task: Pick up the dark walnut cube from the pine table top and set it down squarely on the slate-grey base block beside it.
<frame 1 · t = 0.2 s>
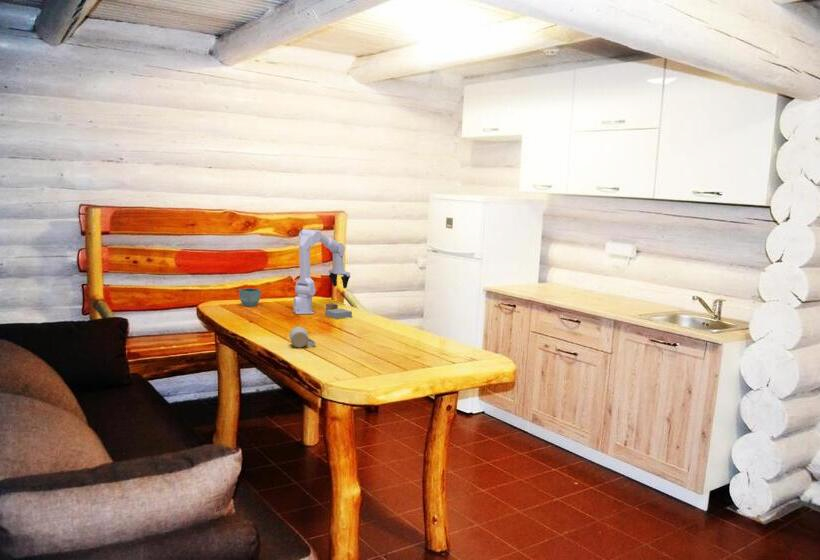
hand: (340, 287, 387), 11 cm above the table, tool pointing down, fingers open, 7 cm apart
base block: (338, 316, 356), on the table
ceramic mug: (302, 346, 289), on the table
flower pot: (250, 306, 376), on the table
walnut cube: (331, 312, 367), on the table
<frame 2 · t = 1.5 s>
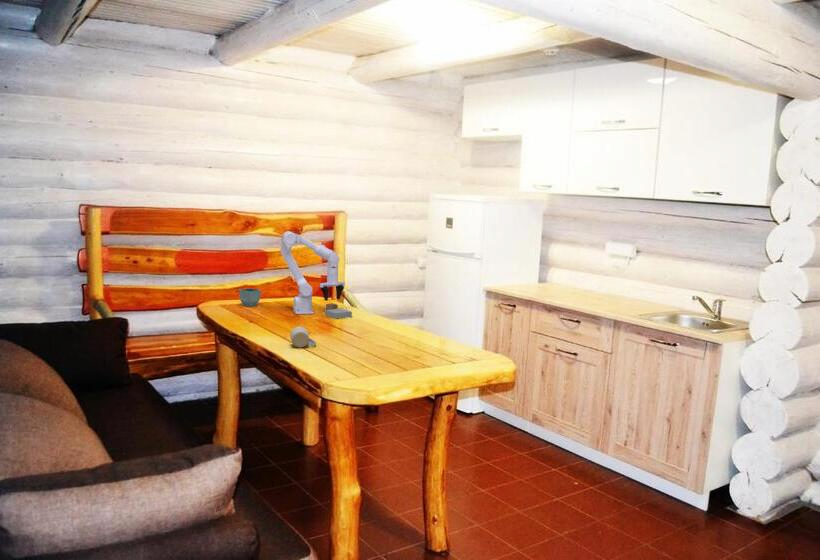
hand: (332, 299, 366), 7 cm above the table, tool pointing down, fingers open, 7 cm apart
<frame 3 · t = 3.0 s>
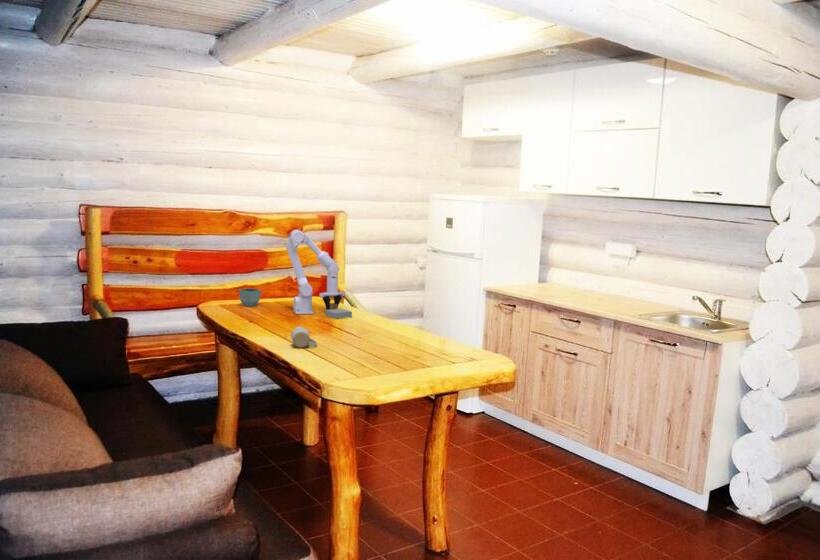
hand: (331, 309, 366), 1 cm above the table, tool pointing down, fingers closed on walnut cube, 4 cm apart
walnut cube: (331, 312, 367), on the table, touching gripper
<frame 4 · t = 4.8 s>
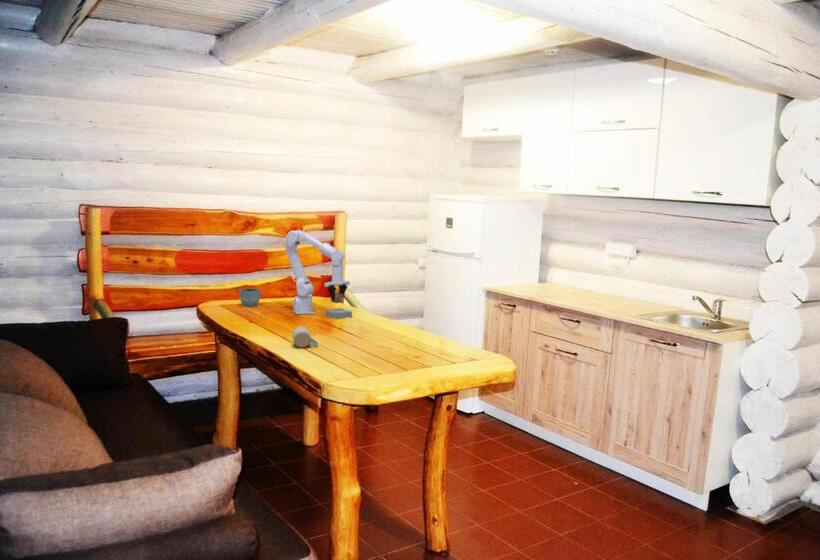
hand: (337, 299, 358), 8 cm above the table, tool pointing down, fingers closed on walnut cube, 4 cm apart
walnut cube: (336, 302, 358), point 7 cm above the table, touching gripper
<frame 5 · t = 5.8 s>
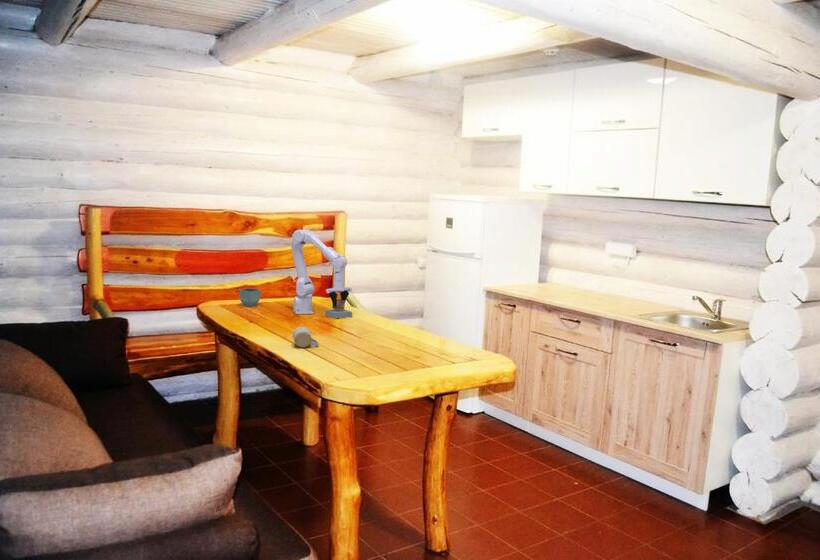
hand: (338, 305, 355), 6 cm above the table, tool pointing down, fingers closed on walnut cube, 4 cm apart
walnut cube: (338, 308, 355), point 4 cm above the table, touching gripper
when the fingers open (6 cm above the table, at t = 6.5 s): walnut cube drops 1 cm, resting on base block.
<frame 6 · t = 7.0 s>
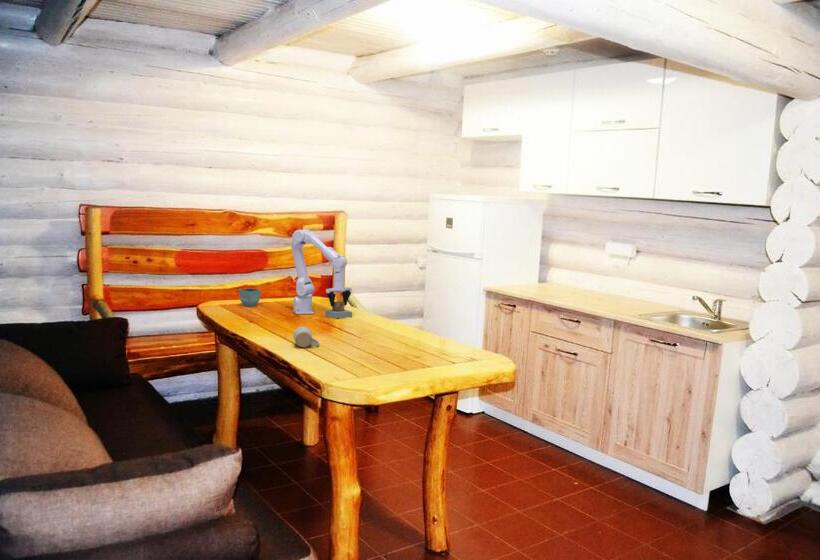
hand: (338, 305, 355), 6 cm above the table, tool pointing down, fingers open, 7 cm apart
walnut cube: (338, 310, 355), point 3 cm above the table, touching base block
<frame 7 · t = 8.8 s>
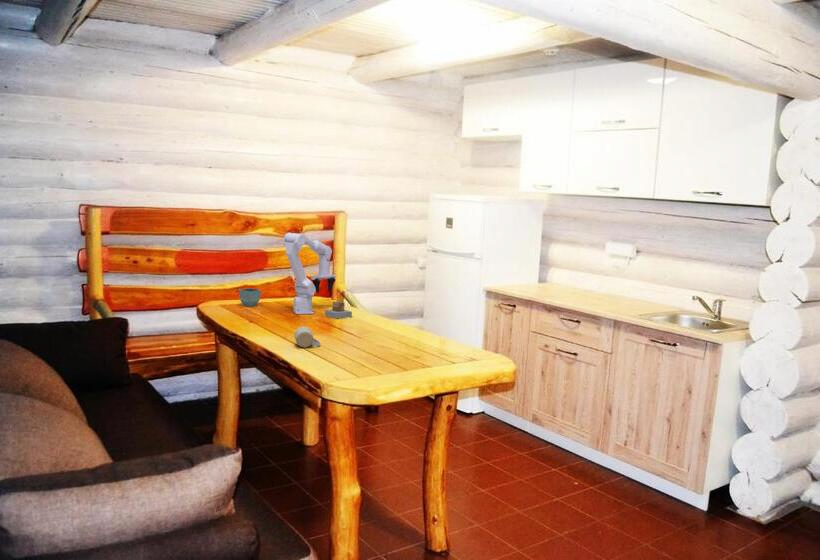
hand: (323, 292, 374), 9 cm above the table, tool pointing down, fingers open, 7 cm apart
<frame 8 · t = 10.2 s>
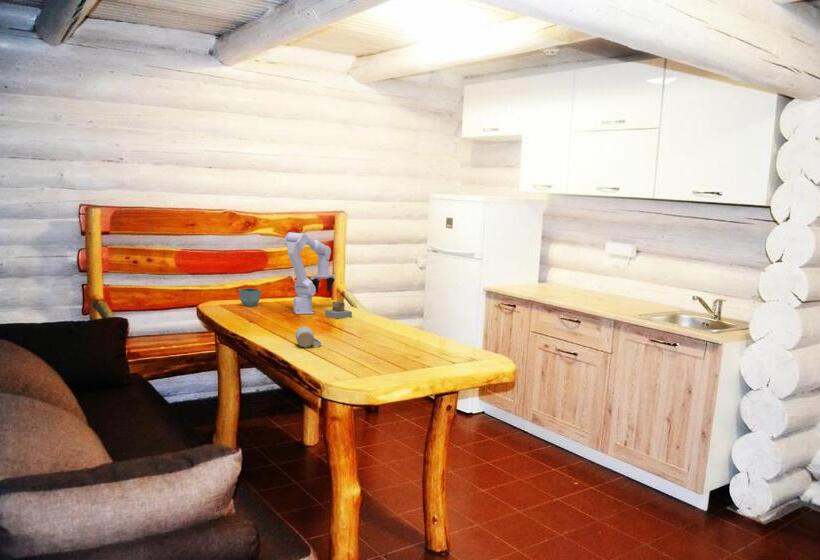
hand: (322, 291, 375), 9 cm above the table, tool pointing down, fingers open, 7 cm apart
at the end: walnut cube 0.1 cm off-centre on the base block, point 3.0 cm above the base block's base; walnut cube tilted 0°; the gripper is holding nothing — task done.
